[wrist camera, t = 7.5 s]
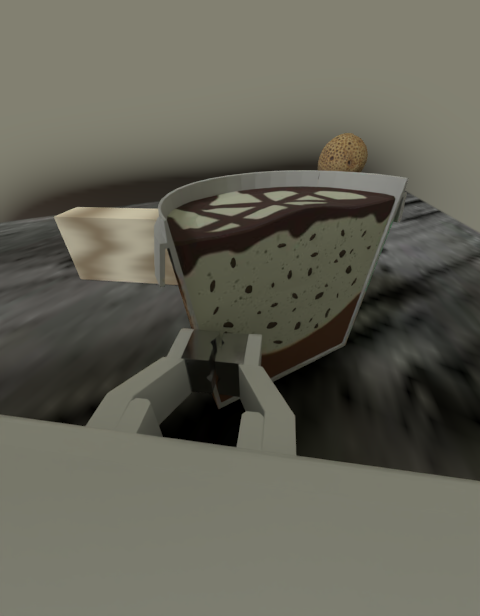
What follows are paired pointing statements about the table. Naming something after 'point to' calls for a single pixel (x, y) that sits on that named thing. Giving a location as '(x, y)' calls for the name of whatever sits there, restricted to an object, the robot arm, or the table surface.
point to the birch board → (113, 244)
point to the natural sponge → (343, 154)
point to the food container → (277, 256)
